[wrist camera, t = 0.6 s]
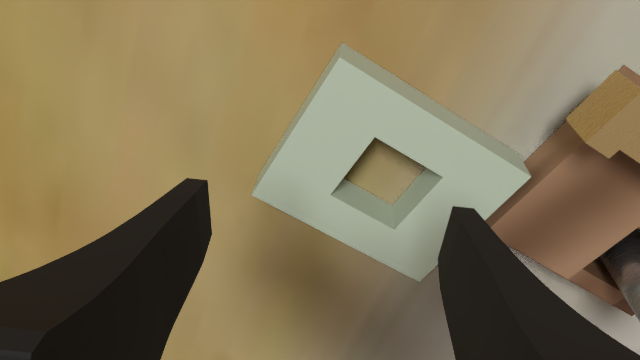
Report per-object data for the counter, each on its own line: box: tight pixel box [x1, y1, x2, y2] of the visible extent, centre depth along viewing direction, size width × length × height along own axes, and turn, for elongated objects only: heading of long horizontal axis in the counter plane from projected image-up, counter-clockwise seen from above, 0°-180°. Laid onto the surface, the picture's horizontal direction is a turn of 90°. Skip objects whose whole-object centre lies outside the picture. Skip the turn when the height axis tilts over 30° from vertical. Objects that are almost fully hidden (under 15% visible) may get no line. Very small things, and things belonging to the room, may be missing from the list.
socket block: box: [485, 65, 640, 316], centre depth 22 cm, size 10×9×2 cm
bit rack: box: [252, 43, 531, 282], centre depth 22 cm, size 10×8×2 cm
